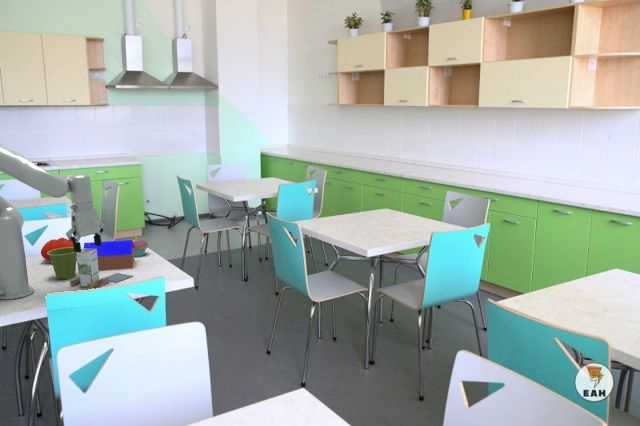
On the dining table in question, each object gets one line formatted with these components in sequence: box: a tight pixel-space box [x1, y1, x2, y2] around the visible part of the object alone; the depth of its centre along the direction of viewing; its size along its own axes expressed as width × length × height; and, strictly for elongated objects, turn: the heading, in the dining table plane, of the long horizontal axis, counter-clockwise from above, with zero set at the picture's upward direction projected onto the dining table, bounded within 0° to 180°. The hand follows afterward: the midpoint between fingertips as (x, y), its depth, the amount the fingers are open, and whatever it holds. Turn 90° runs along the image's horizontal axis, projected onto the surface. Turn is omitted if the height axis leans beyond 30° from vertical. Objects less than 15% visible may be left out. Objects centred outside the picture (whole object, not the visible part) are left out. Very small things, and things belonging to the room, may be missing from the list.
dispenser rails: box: [69, 276, 110, 290], centre depth 218 cm, size 10×11×2 cm
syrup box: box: [76, 248, 101, 288], centre depth 217 cm, size 6×6×14 cm
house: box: [83, 239, 136, 272], centre depth 243 cm, size 12×20×12 cm, turn 103°
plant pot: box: [47, 247, 77, 280], centre depth 228 cm, size 12×12×11 cm
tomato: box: [40, 237, 74, 262], centre depth 252 cm, size 14×16×10 cm
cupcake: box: [132, 230, 149, 257], centre depth 260 cm, size 9×8×12 cm
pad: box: [99, 272, 134, 284], centre depth 227 cm, size 9×9×1 cm
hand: (88, 248), depth 216 cm, fingers open, 9 cm apart
